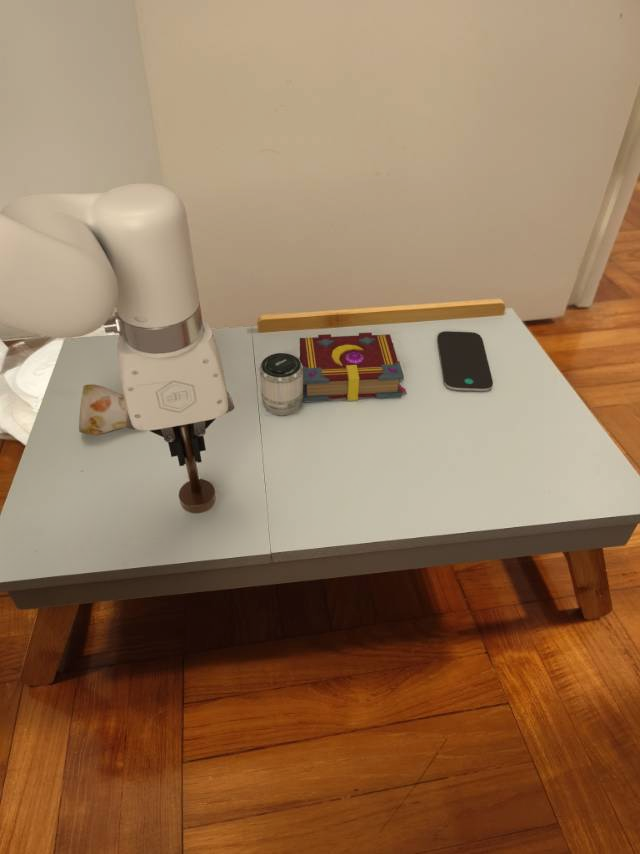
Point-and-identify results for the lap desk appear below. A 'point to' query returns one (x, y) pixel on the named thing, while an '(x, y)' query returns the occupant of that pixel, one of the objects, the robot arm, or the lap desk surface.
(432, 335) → the lap desk surface
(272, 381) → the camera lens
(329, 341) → the decorative book
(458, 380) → the smartphone
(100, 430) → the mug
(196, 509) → the round knob peg
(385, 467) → the lap desk surface
